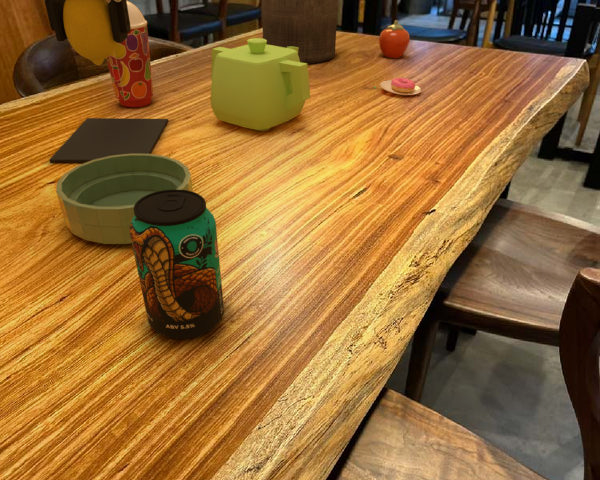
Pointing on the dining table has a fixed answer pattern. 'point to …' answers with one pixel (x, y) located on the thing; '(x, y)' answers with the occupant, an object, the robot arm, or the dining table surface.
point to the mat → (110, 139)
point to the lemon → (89, 28)
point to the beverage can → (177, 263)
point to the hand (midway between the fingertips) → (93, 37)
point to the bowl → (115, 193)
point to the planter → (302, 27)
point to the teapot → (258, 84)
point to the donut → (400, 86)
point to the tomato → (394, 41)
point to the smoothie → (132, 63)
